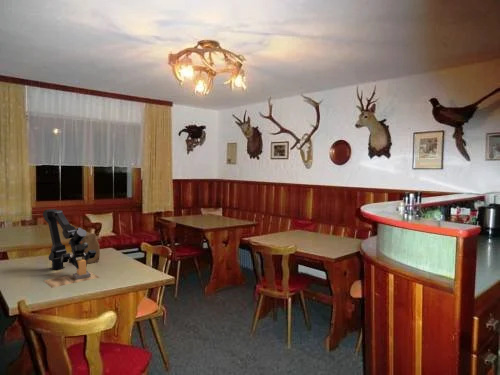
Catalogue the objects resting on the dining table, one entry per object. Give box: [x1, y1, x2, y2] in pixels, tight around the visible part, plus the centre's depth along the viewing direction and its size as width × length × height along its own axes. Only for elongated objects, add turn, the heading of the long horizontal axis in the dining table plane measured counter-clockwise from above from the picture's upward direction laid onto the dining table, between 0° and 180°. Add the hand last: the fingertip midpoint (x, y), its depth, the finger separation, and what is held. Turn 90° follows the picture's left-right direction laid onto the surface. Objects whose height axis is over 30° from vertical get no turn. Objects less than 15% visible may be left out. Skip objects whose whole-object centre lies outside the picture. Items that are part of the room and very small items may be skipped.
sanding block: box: [72, 258, 91, 280], centre depth 211 cm, size 8×7×10 cm
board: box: [43, 271, 101, 289], centre depth 208 cm, size 26×16×1 cm, turn 134°
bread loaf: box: [81, 232, 101, 265], centre depth 246 cm, size 11×8×20 cm
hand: (82, 268), depth 210 cm, fingers closed on sanding block, 4 cm apart
